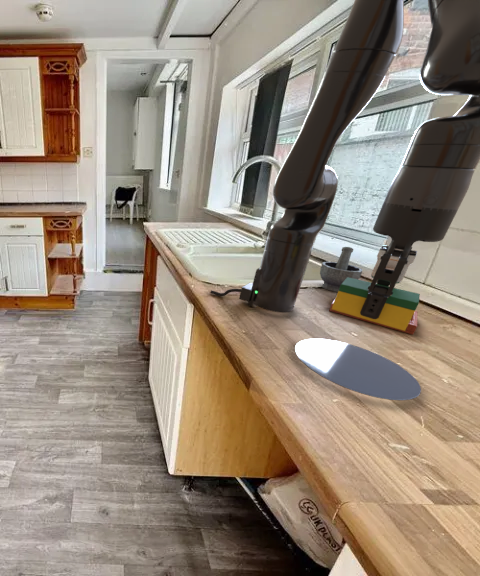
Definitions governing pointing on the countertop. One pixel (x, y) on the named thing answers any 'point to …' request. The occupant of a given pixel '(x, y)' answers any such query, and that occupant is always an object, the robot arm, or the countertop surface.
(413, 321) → the sponge dish
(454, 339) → the countertop surface
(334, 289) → the mortar and pestle
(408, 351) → the countertop surface
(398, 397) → the mirror
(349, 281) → the sponge
